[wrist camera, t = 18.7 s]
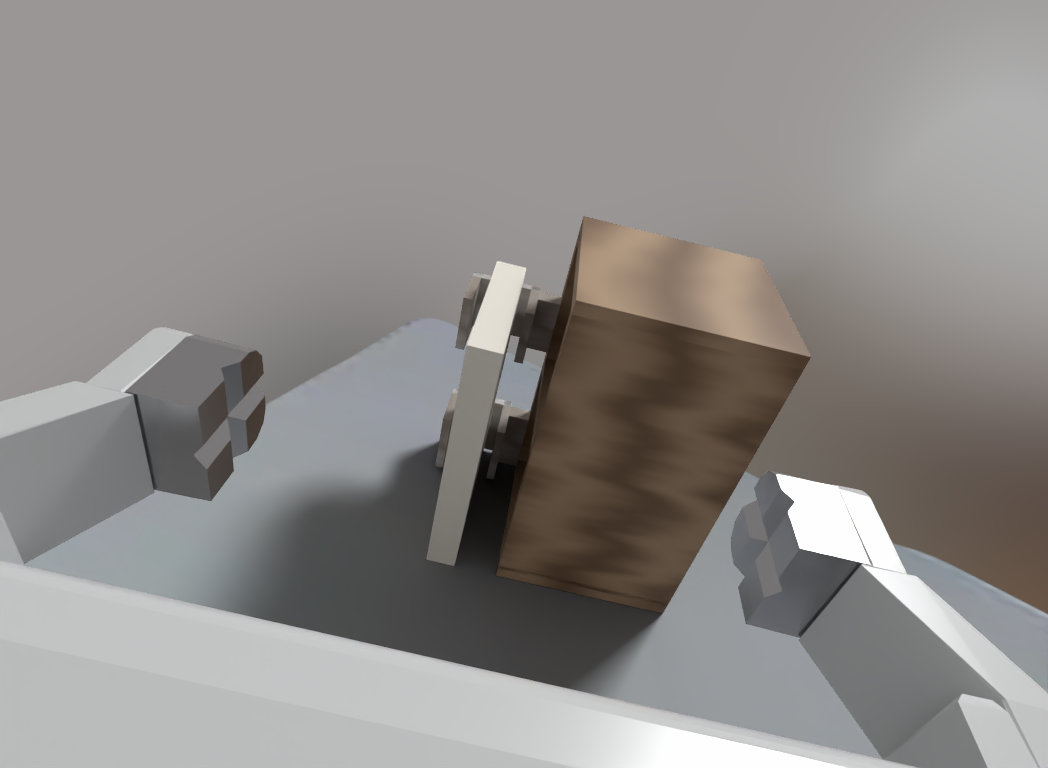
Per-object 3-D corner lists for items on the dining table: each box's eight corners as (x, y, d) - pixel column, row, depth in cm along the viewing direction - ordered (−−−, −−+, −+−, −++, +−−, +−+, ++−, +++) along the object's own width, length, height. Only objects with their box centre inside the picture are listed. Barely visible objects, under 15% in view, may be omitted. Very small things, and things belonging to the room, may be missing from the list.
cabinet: (651, 487, 53) (759, 256, 41) (662, 613, 43) (811, 356, 31) (445, 438, 53) (488, 189, 40) (406, 554, 43) (448, 269, 30)
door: (480, 460, 52) (526, 268, 41) (454, 566, 43) (503, 354, 32) (457, 455, 52) (497, 260, 41) (426, 559, 43) (466, 344, 32)
